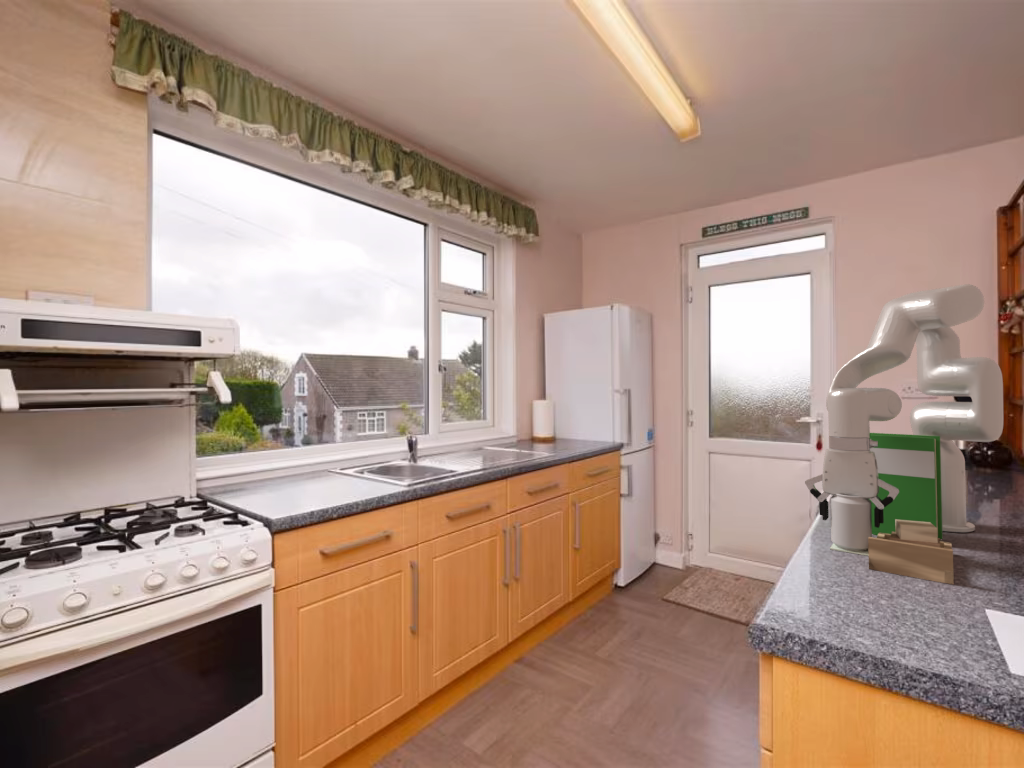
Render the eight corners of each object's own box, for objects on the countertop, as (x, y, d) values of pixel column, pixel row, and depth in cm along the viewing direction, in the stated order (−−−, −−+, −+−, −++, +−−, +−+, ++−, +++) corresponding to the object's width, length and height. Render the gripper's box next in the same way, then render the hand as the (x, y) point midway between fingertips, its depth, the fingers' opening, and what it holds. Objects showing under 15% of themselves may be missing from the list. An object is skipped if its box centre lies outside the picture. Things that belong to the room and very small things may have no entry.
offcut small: (895, 533, 108) (895, 519, 108) (930, 536, 105) (930, 522, 105) (900, 539, 103) (900, 525, 103) (937, 543, 101) (937, 528, 101)
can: (874, 545, 109) (873, 491, 109) (869, 555, 104) (868, 498, 104) (834, 539, 115) (833, 487, 115) (827, 547, 109) (826, 493, 109)
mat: (835, 541, 114) (835, 540, 114) (872, 547, 110) (872, 546, 110) (829, 549, 109) (829, 547, 109) (868, 556, 104) (868, 554, 104)
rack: (879, 542, 113) (878, 516, 113) (951, 554, 105) (951, 525, 105) (868, 569, 97) (868, 538, 97) (953, 584, 89) (952, 551, 89)
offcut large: (892, 549, 109) (891, 531, 109) (940, 557, 104) (939, 538, 104) (890, 556, 104) (889, 537, 104) (940, 565, 99) (940, 545, 99)
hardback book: (942, 539, 115) (940, 436, 116) (936, 545, 110) (933, 438, 111) (853, 524, 129) (851, 431, 129) (844, 529, 124) (842, 433, 124)
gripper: (899, 445, 107) (901, 525, 106) (807, 441, 118) (809, 513, 118) (897, 449, 101) (899, 533, 101) (800, 443, 112) (802, 519, 112)
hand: (850, 522), depth 109 cm, fingers open, 9 cm apart
